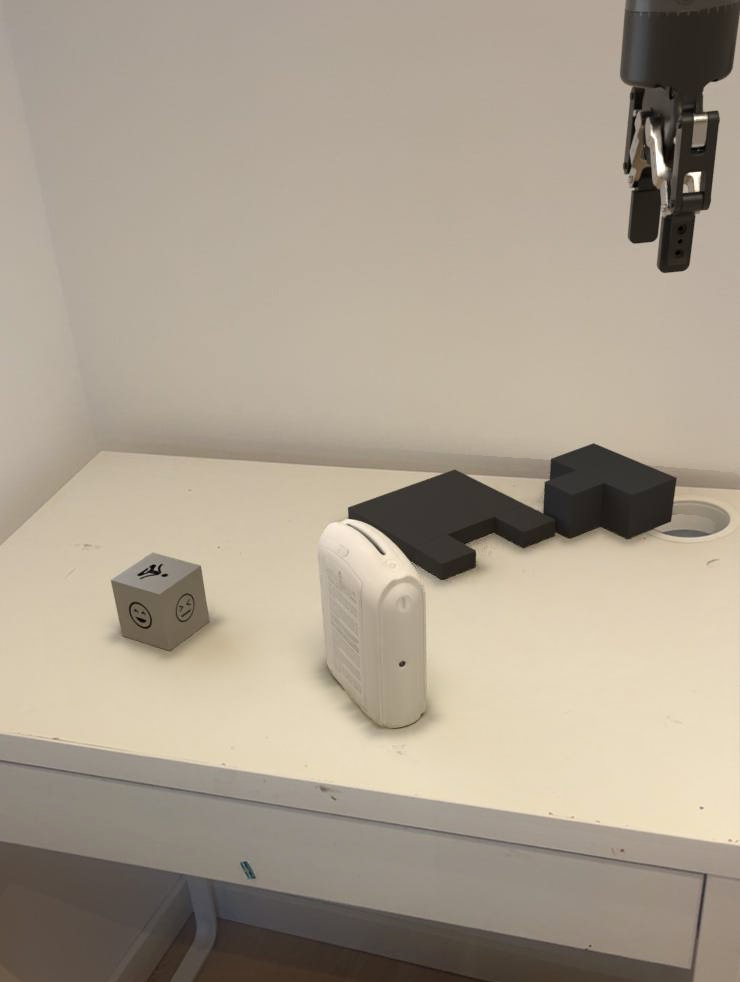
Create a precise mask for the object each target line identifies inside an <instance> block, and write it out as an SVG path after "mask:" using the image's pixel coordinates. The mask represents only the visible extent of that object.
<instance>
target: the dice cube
mask: <svg viewBox="0 0 740 982" xmlns="http://www.w3.org/2000/svg"><path fill="white" fill-rule="evenodd" d="M110 585H111V588H112V593H113V599H114V602H115V607H116V612H117V617H118V621H119V627H120V633H121V636H122V637H124V638H128V639H131V640H134V641H138V642H141V643H143V644H147V645H150V646H153V647H156V648H159V649H162V650H165V651H169V652H171V651H172V650H173V649H175V648H176V647H177V646H179V645H180V644H181V643H182V642H184V641H185V640H187V639H188V638H189V637H190V636H192V635H194V634H196V632H197V631H198V630H200V629H202V628H203V627H204V626H206V625H207V624H208V623H210V615H209V609H208V602H207V596H206V590H205V589H206V588H205V583H204V575H203V569H202V565H200V564H197V563H193V562H190V561H186V560H182V559H179V558H175V557H171V556H168V555H164V554H160V553H156V552H151V553H149V554H148V555H146V556H145V557H144V558H142V559H140V560H139V561H136V563H134V564H133V565H131V566H130V567H128V568H127V569H125V570H123V571H122V572H121V573H119V574H118V575H116V576H115V577H113V578H111V579H110Z"/></svg>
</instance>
